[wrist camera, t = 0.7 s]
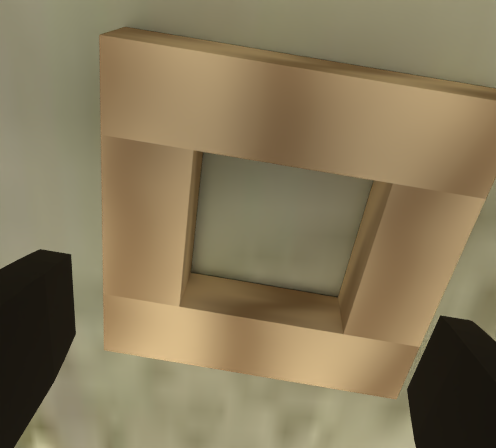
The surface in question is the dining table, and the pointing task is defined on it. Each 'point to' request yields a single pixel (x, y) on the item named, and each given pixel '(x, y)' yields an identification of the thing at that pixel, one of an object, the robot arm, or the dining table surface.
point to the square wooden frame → (295, 155)
